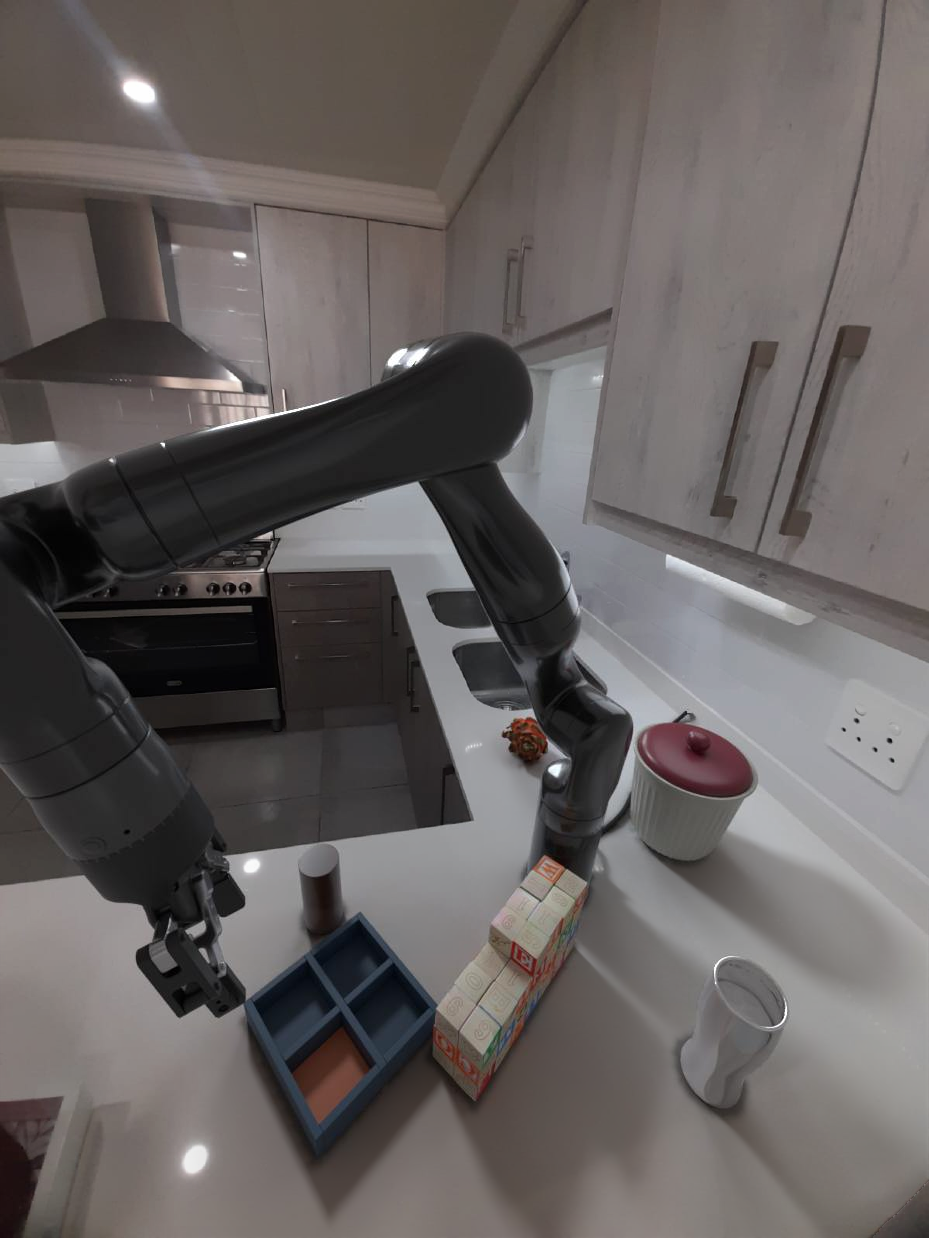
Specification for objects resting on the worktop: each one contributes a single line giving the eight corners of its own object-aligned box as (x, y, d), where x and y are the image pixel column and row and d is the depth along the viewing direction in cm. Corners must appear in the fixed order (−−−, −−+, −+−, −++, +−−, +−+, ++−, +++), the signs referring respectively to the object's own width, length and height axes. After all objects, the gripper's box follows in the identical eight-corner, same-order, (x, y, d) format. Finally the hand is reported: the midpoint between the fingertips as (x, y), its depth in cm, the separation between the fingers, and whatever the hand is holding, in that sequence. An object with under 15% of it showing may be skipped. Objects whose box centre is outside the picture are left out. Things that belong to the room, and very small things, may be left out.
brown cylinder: (330, 892, 70) (325, 836, 65) (350, 917, 67) (346, 860, 62) (298, 915, 66) (290, 858, 62) (317, 942, 63) (311, 884, 59)
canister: (629, 875, 75) (659, 768, 66) (605, 790, 92) (627, 695, 83) (748, 886, 75) (794, 779, 66) (702, 798, 91) (734, 704, 82)
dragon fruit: (530, 781, 95) (512, 749, 106) (565, 755, 95) (543, 725, 106) (507, 752, 92) (491, 722, 103) (544, 725, 92) (523, 698, 103)
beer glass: (752, 1070, 53) (798, 989, 47) (734, 1134, 49) (783, 1052, 43) (688, 1019, 58) (723, 938, 51) (666, 1073, 53) (701, 991, 47)
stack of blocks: (476, 1106, 50) (484, 1039, 44) (430, 1056, 53) (434, 989, 48) (574, 944, 65) (589, 881, 60) (534, 914, 68) (545, 852, 63)
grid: (361, 928, 65) (360, 910, 64) (438, 1024, 56) (439, 1006, 54) (246, 1020, 55) (242, 1002, 54) (318, 1158, 46) (315, 1140, 44)
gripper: (174, 856, 27) (287, 1013, 34) (195, 729, 40) (275, 863, 46) (21, 929, 25) (174, 1082, 32) (94, 771, 37) (193, 905, 44)
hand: (233, 952), depth 39 cm, fingers open, 8 cm apart
